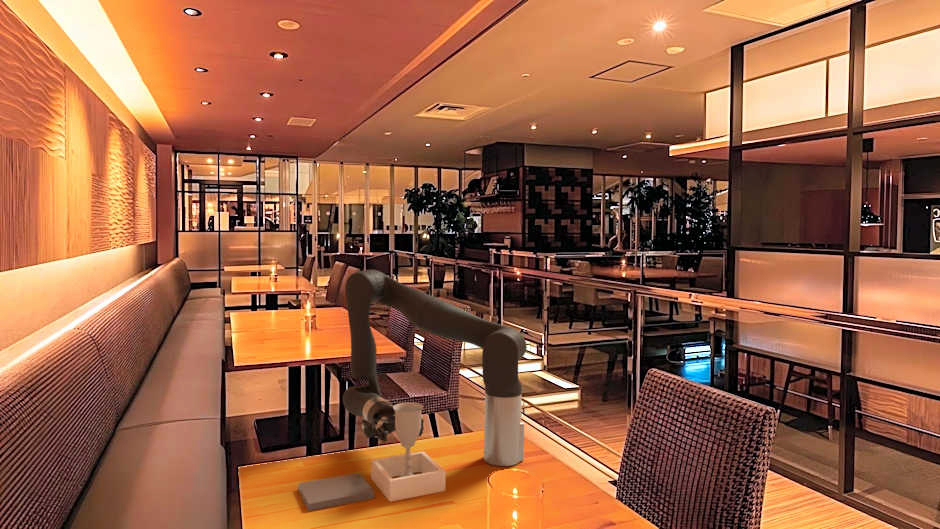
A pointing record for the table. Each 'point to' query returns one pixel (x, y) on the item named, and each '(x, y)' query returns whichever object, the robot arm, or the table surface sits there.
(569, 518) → the table surface
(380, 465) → the open box
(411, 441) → the chalice
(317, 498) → the slate board
